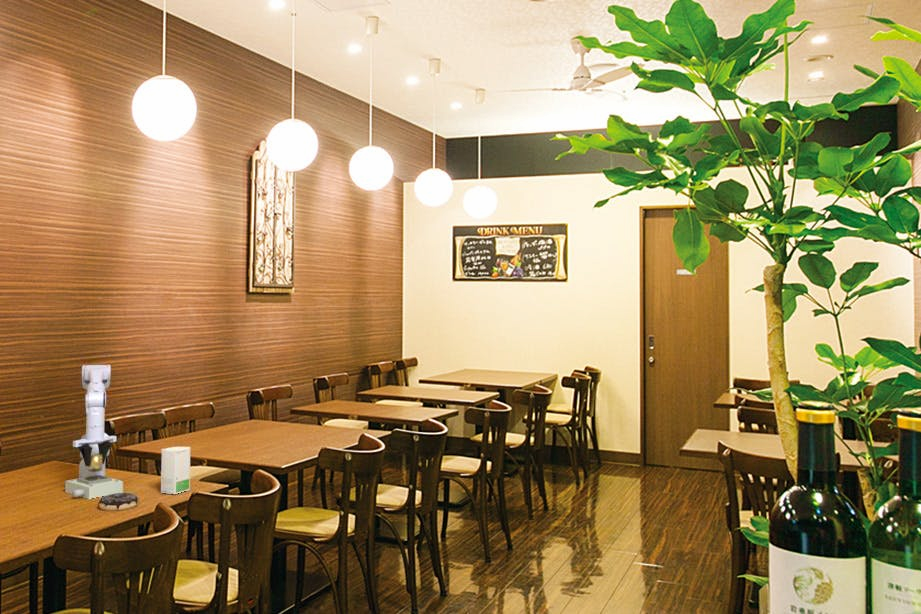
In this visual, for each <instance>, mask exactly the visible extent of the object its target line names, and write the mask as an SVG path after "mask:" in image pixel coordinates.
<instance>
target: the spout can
mask: <svg viewBox="0 0 921 614" xmlns="http://www.w3.org/2000/svg"><path fill="white" fill-rule="evenodd" d="M102 459H103V457H102V454H101V453H95V454H91V461H90V466H88V471H90V472H96V471H101V470H102Z"/></svg>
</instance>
